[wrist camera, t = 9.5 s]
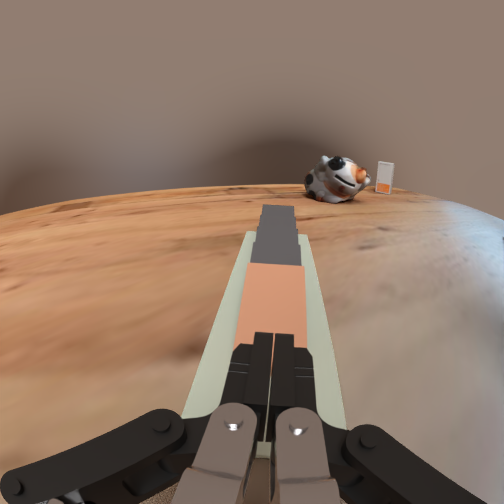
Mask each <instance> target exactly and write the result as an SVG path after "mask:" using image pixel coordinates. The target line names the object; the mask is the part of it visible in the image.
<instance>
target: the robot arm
mask: <svg viewBox="0 0 504 504" xmlns="http://www.w3.org/2000/svg"><path fill="white" fill-rule="evenodd" d="M273 335H274V333H268V332H255V334H254V341H253V344H243V343H240V344H239V345H238V346H237V347H236V348H235V349H234V351H233V352H232V356H231V360H230V365H229V369H228V373H227V377H226V381H225V385H224V389H223V393H222V397H221V401H220V404H219V406H218V407H217V408H216V409H215V410H214V411H213V412H212V413H210V414H208V415H206V416H203V417H197V418H186V419H182V418H181V417H180V415H178V414H177V413H176V412H174V411H172V410H168V409H156V410H152V411H150V412H148V413H146V414H144V415H142V416H140V417H138V418H136V419H134V420H132V421H130V422H128V423H126V424H124V425H122V426H120V427H118V428H116V429H114V430H112V431H110V432H107V433H105V434H103V435H101V436H99V437H96V438H94V439H92V440H90V441H87V442H85V443H83V444H80V445H78V446H76V447H73V448H71V449H68V450H66V451H64V452H61V453H58V454H56V455H53V456H51V457H48V458H45V459H43V460H40V461H37V462H34V463H31V464H28V465H25V466H22V467H19V468H16V469H13V470H10V471H8V472H6V473H5V474H4V475H3V476H2V478H1V481H0V490H1V494H2V496H3V498H4V499H5V500H6V502H7V503H9V504H138V503H140V502H142V501H144V500H146V499H148V498H150V497H152V496H154V495H156V494H157V493H159V492H161V491H163V490H165V489H166V488H168V487H170V486H172V485H173V484H175V483H177V482H178V481H179V484H178V486H177V489H176V491H175V494H174V496H173V499H172V501H171V504H243V503H244V499H245V495H246V491H247V487H248V482H249V478H250V474H251V470H252V465H253V461H254V458H255V456H256V452H257V444H258V442H263V441H264V433H265V425H266V417H267V408H268V418H267V429H266V440H265V442H271V451H270V458H269V504H341V503H340V497H341V498H342V499H343V500H344V501H345V502H346V503H348V504H487V503H486V502H484V501H482V500H481V499H479V498H478V497H476V496H474V495H473V494H471V493H470V492H468V491H467V490H465V489H464V488H462V487H461V486H459V485H458V484H456V483H455V482H453V481H452V480H450V479H449V478H447V477H446V476H445V475H443V474H442V473H440V472H439V471H437V470H436V469H435V468H433V467H432V466H430V465H429V464H428V463H426V462H425V461H423V460H422V459H421V458H419V457H418V456H417V455H415V454H414V453H413V452H411V451H410V450H409V449H407V448H406V447H405V446H403V445H402V444H401V443H399V442H398V441H397V440H395V439H394V438H393V437H391V436H390V435H389V434H388V433H386V432H385V431H384V430H382V429H381V428H379V427H377V426H374V425H369V424H365V425H360V426H357V427H355V428H353V429H352V430H351V431H349V430H345V429H341V428H337V427H334V426H331V425H329V424H327V423H326V422H324V421H323V420H322V419H321V417H320V416H319V414H318V412H317V405H316V391H315V378H314V369H313V368H314V366H313V357H312V355H311V354H310V352H309V351H308V349H307V348H302V347H294V334H283V333H275V340H274V351H273V361H272V349H273ZM271 362H272V371H271ZM270 374H271V384H270ZM269 386H270V396H269ZM268 398H269V407H268Z"/></svg>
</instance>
